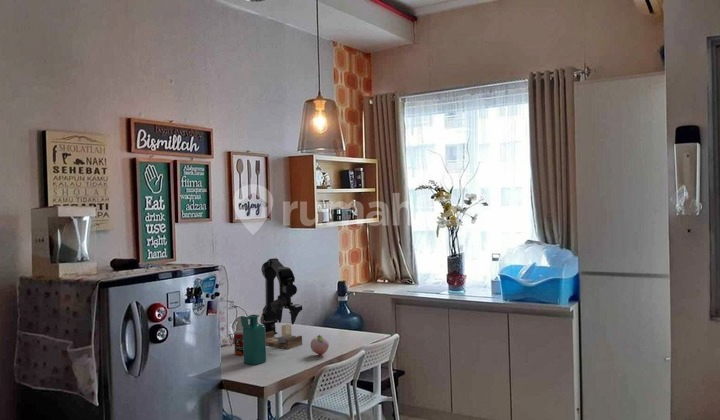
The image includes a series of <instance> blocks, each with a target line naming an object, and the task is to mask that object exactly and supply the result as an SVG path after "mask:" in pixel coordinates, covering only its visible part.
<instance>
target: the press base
mask: <svg viewBox="0 0 720 420" xmlns="http://www.w3.org/2000/svg"><path fill="white" fill-rule="evenodd" d="M265 336H266V346H270V347H275V348H282V349H286V350H289V349H292V348H296V347H299V346H302V345H303V335H298V336H297V335H296V337H293V338H290V339H286V344H285V343H280V342H278V337H276V336H275V334H274V331H271V332H267V333H265Z"/></svg>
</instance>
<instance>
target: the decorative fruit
mask: <svg viewBox="0 0 720 420" xmlns="http://www.w3.org/2000/svg"><path fill="white" fill-rule="evenodd" d="M329 347H330V346H329V341H328V340H327V339H326V338H325V337H323V336H322V335H321V334H319V335H316V336H315V337H314V338H313V339H312V340H311V342H310V349H311V351H312V352H313V353H315V354H316V355H319V357H320V356H323V355H324V354H325V353H326V352H327V351H328V350H329Z"/></svg>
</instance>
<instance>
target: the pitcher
mask: <svg viewBox="0 0 720 420" xmlns="http://www.w3.org/2000/svg"><path fill="white" fill-rule="evenodd" d="M259 317H260V315H259V314H249V315H247V316H245V315H242V316H240V323H241V326H242V330H243V352H244V355H243V363H244V364H246V365H251V366H256V365H260V364H264V363H266V362H267V345H266V336H265V326H263V324H261V323H259V321H258V320H259V319H258V318H259Z"/></svg>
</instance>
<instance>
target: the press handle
mask: <svg viewBox="0 0 720 420" xmlns="http://www.w3.org/2000/svg"><path fill="white" fill-rule="evenodd" d="M280 328H281V336H278V337H277V338H278V342H280V343H285V344H286V339H290V338H293V337H297V335H292V324H290V323H284V324H283V325H281V327H280Z"/></svg>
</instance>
